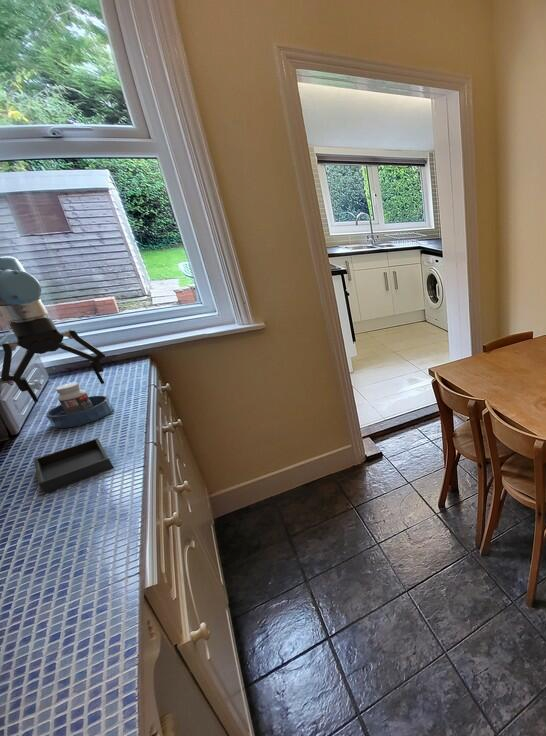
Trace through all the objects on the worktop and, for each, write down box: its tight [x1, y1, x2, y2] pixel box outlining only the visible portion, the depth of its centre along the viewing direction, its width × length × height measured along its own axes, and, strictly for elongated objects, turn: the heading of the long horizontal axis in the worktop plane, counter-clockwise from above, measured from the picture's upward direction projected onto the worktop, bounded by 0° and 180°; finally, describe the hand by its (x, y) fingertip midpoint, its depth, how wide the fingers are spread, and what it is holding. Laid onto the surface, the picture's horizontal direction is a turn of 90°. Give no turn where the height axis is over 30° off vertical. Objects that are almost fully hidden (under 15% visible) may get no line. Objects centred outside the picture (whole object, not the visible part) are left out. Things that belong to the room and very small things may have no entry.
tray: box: [33, 437, 115, 494], centre depth 95 cm, size 15×11×3 cm
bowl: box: [45, 395, 114, 429], centre depth 118 cm, size 13×13×4 cm
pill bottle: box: [55, 381, 94, 414], centre depth 117 cm, size 6×6×10 cm
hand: (70, 391), depth 116 cm, fingers open, 13 cm apart
